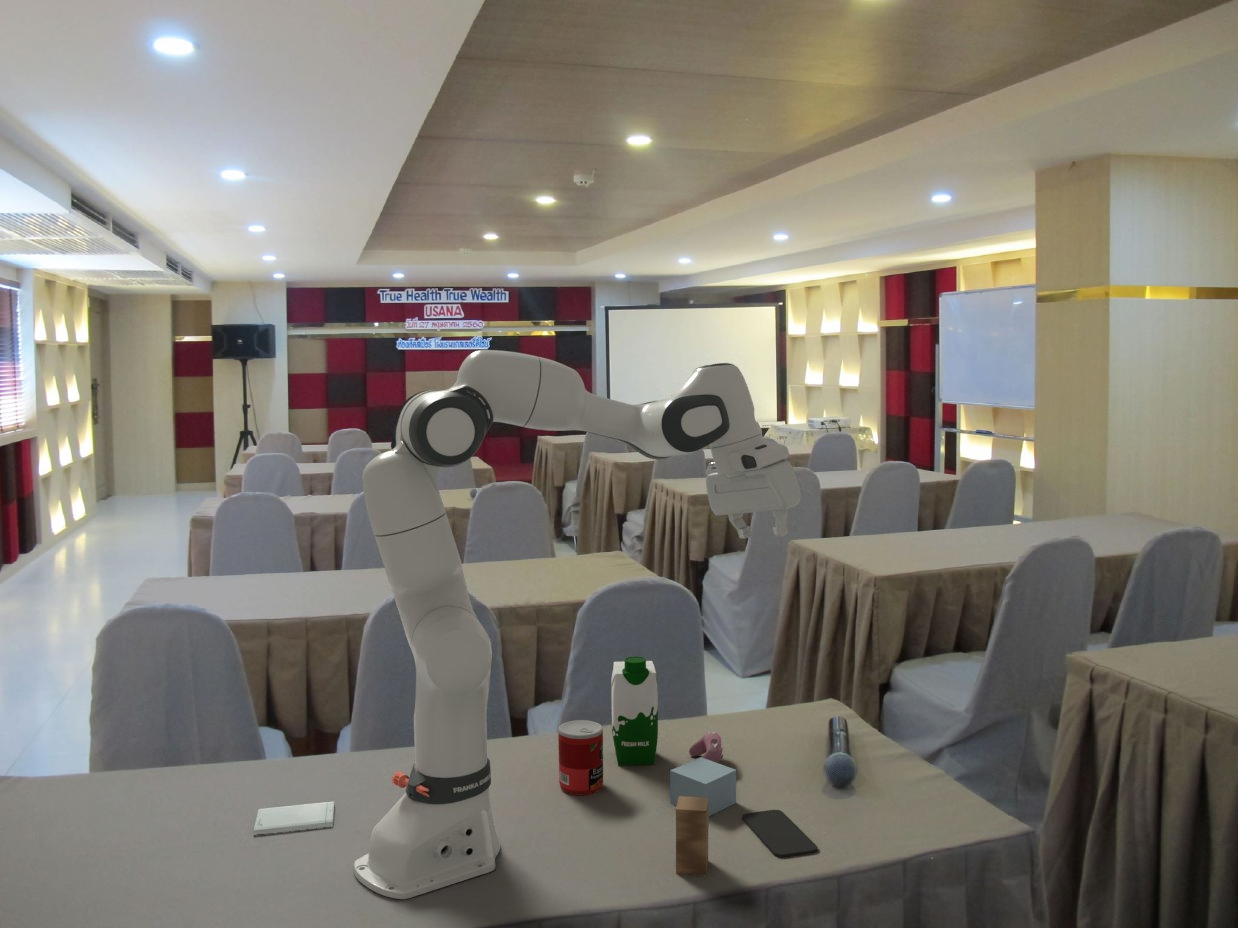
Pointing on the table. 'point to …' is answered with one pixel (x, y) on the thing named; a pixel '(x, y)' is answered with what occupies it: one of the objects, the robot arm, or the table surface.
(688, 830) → the walnut post
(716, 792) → the base block
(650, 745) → the milk carton
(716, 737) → the video game controller
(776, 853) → the phone
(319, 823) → the hard drive
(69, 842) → the table surface
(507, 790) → the table surface
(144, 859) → the table surface
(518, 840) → the table surface
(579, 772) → the canned food
